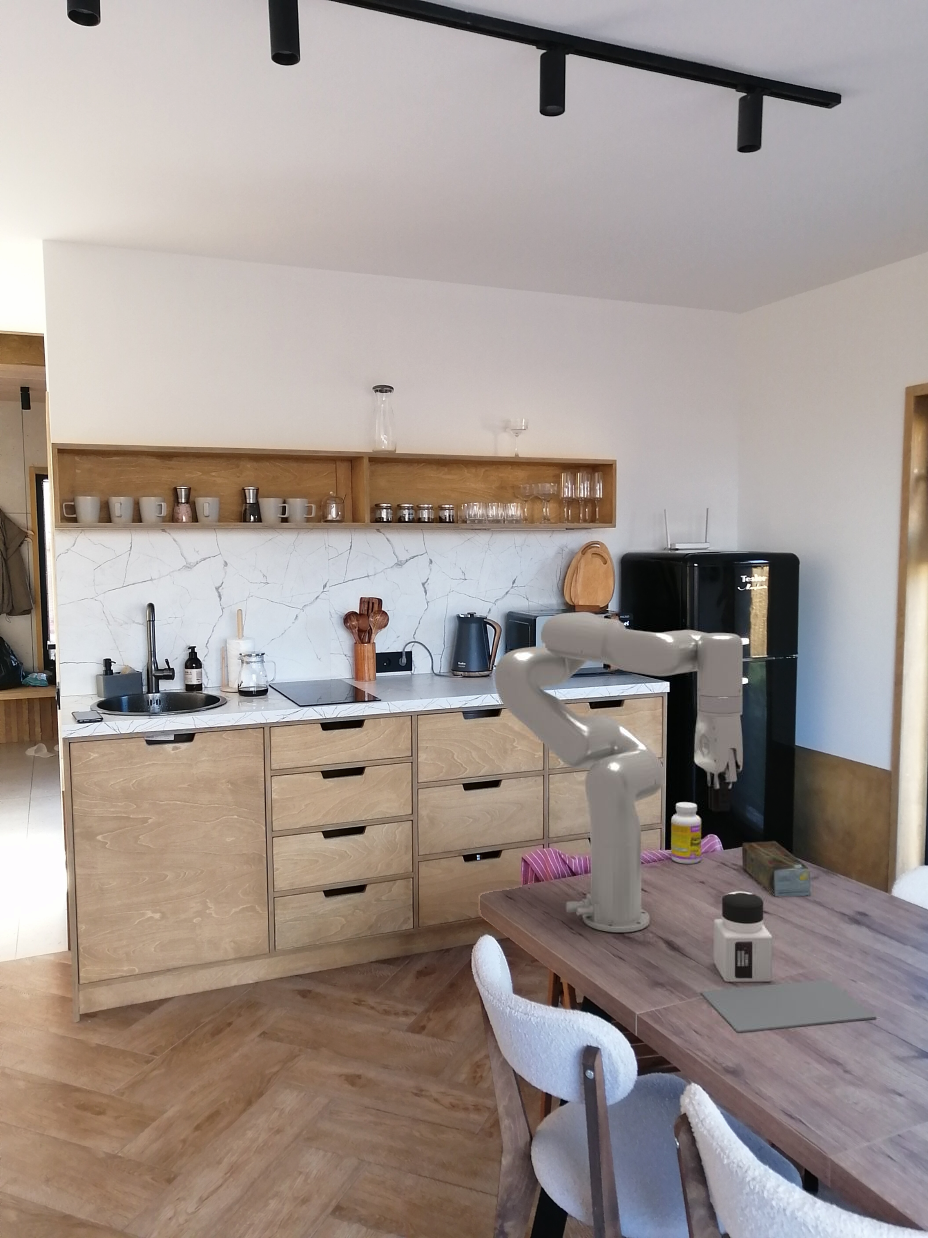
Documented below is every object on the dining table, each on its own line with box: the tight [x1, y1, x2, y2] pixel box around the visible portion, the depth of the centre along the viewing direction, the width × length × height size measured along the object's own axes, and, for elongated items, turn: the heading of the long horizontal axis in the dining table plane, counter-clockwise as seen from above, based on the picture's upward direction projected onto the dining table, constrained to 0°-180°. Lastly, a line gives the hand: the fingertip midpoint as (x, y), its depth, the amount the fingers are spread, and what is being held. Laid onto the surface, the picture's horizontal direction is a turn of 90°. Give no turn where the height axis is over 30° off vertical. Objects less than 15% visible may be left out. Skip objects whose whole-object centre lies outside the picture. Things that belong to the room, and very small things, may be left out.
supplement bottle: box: [670, 801, 702, 865], centre depth 219 cm, size 7×7×13 cm
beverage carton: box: [741, 840, 811, 897], centre depth 204 cm, size 8×19×7 cm, turn 3°
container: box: [713, 891, 773, 983], centre depth 159 cm, size 8×8×13 cm
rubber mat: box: [700, 979, 877, 1034], centre depth 147 cm, size 22×13×1 cm, turn 100°
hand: (719, 809), depth 167 cm, fingers closed
